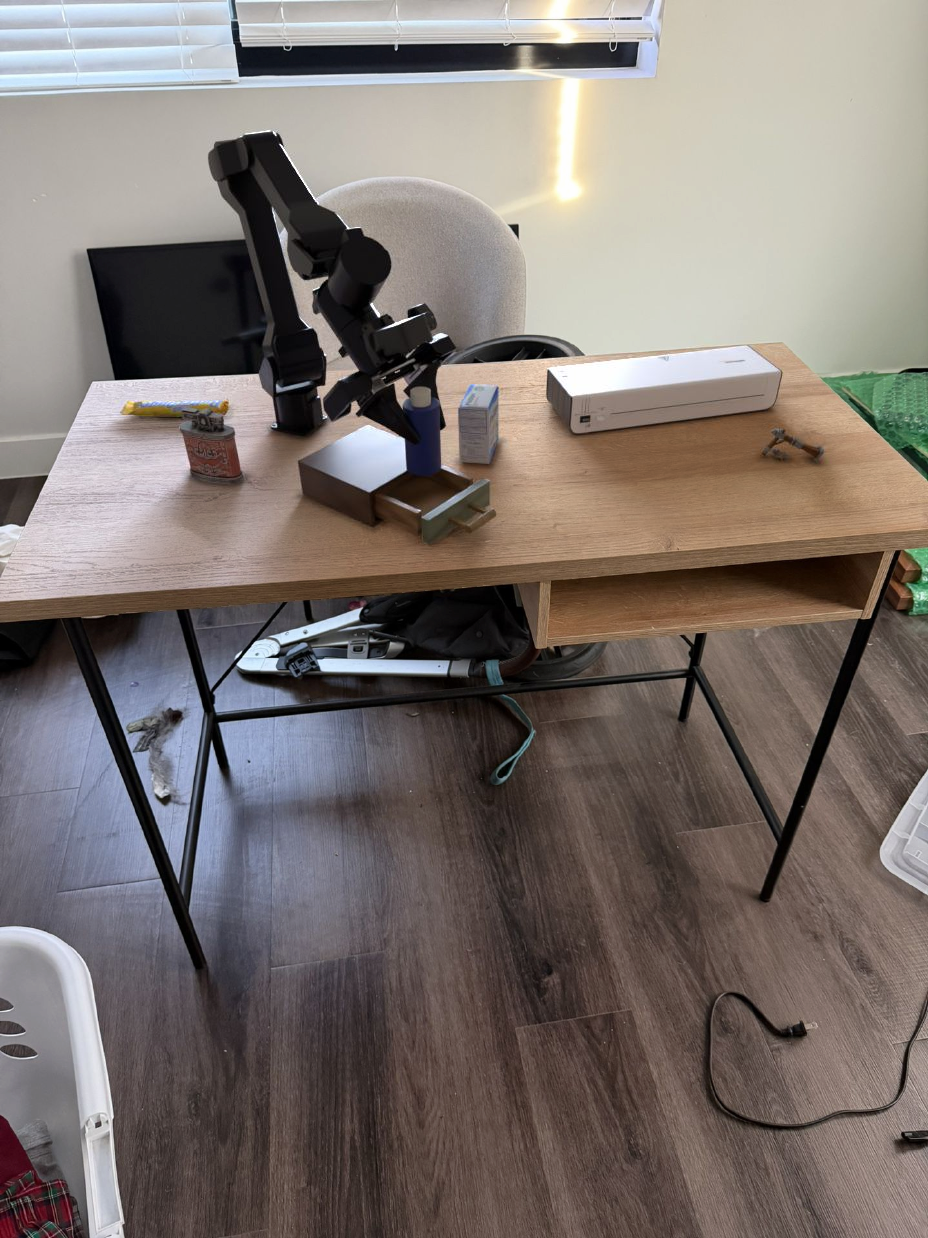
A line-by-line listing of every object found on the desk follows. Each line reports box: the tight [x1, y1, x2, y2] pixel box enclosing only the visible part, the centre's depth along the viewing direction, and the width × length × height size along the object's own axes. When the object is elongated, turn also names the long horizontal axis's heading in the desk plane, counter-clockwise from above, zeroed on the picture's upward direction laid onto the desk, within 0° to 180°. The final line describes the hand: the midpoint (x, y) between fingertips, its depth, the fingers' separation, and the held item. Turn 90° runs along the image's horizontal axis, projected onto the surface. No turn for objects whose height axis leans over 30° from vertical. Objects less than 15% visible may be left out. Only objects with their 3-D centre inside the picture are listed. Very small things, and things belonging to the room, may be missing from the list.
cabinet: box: [297, 424, 410, 529], centre depth 115 cm, size 13×13×5 cm
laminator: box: [545, 345, 784, 436], centre depth 133 cm, size 34×12×6 cm, turn 104°
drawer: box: [373, 464, 497, 546], centre depth 110 cm, size 16×12×4 cm
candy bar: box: [119, 397, 230, 418], centre depth 136 cm, size 17×4×2 cm, turn 91°
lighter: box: [178, 407, 245, 485], centre depth 117 cm, size 8×3×10 cm, turn 71°
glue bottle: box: [402, 387, 442, 476], centre depth 104 cm, size 4×4×10 cm
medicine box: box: [457, 383, 500, 465], centre depth 122 cm, size 8×4×9 cm, turn 168°
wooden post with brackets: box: [761, 427, 825, 463], centre depth 121 cm, size 2×8×4 cm, turn 86°
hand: (430, 435), depth 104 cm, fingers closed on glue bottle, 4 cm apart
